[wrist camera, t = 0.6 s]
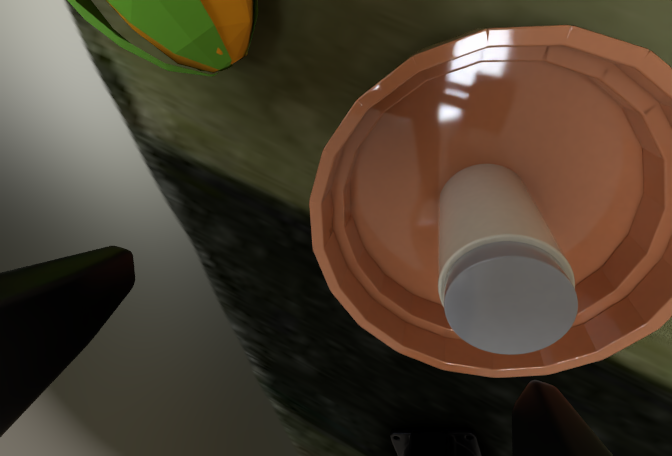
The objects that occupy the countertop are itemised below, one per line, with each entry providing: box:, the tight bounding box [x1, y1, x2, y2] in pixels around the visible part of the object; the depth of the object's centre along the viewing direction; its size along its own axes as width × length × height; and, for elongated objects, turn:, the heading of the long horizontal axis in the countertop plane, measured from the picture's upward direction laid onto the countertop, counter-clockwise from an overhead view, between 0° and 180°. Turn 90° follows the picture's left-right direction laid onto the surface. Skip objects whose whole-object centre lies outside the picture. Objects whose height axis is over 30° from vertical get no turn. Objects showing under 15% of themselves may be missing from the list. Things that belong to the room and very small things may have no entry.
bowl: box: [309, 25, 672, 378], centre depth 18 cm, size 16×16×4 cm
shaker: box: [438, 164, 578, 355], centre depth 16 cm, size 4×4×8 cm
